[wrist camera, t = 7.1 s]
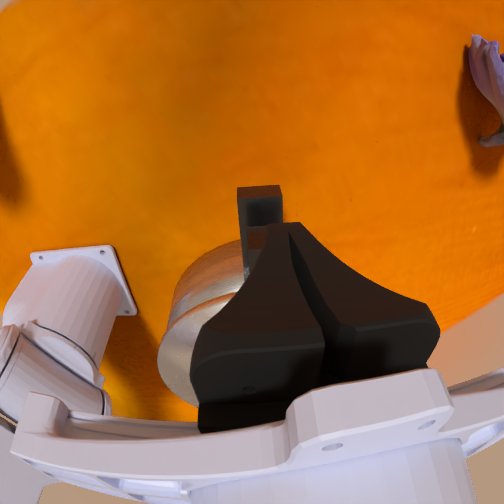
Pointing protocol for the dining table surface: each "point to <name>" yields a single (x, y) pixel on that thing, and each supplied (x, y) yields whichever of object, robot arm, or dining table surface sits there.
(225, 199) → the dining table surface
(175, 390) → the cooker lid
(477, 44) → the flower
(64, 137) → the dining table surface
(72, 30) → the dining table surface
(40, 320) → the robot arm
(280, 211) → the cooker pot
